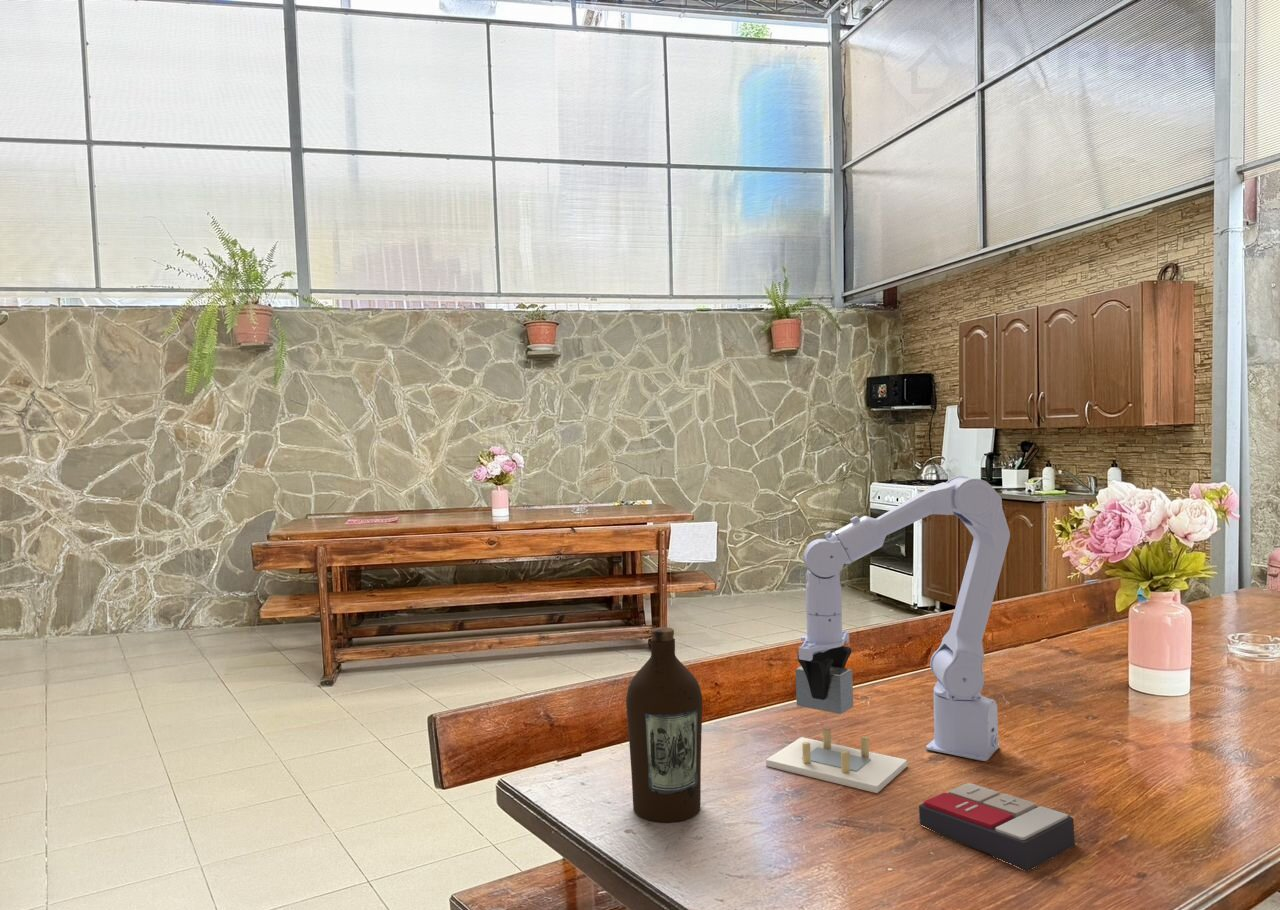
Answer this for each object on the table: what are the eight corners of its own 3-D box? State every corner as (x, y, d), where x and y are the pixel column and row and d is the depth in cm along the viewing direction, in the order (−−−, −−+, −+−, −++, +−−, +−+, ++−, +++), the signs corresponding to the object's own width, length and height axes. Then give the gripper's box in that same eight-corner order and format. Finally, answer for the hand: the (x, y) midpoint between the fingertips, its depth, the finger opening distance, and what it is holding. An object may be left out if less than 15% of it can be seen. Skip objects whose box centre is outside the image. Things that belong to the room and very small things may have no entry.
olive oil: (621, 797, 121) (617, 624, 121) (692, 788, 123) (688, 619, 123) (638, 829, 111) (633, 641, 110) (715, 819, 113) (710, 635, 113)
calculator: (967, 778, 116) (1074, 811, 104) (969, 810, 116) (1076, 846, 104) (916, 799, 110) (1024, 836, 98) (918, 832, 110) (1026, 873, 98)
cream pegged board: (907, 766, 130) (906, 740, 129) (877, 793, 120) (876, 765, 120) (801, 742, 141) (800, 719, 140) (766, 765, 131) (765, 740, 131)
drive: (853, 706, 138) (852, 669, 138) (841, 714, 135) (839, 675, 135) (809, 698, 143) (808, 662, 143) (796, 705, 140) (795, 668, 140)
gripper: (821, 602, 147) (823, 680, 147) (781, 617, 135) (782, 701, 136) (859, 606, 142) (861, 686, 142) (821, 622, 131) (823, 709, 131)
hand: (825, 694), depth 139 cm, fingers closed on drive, 4 cm apart
